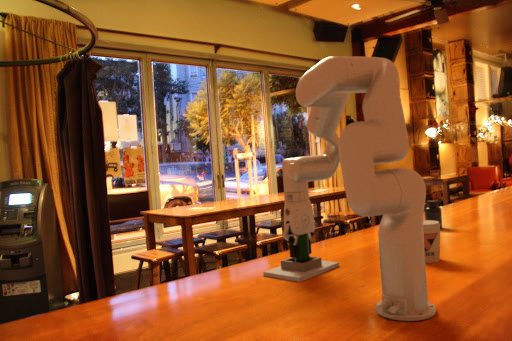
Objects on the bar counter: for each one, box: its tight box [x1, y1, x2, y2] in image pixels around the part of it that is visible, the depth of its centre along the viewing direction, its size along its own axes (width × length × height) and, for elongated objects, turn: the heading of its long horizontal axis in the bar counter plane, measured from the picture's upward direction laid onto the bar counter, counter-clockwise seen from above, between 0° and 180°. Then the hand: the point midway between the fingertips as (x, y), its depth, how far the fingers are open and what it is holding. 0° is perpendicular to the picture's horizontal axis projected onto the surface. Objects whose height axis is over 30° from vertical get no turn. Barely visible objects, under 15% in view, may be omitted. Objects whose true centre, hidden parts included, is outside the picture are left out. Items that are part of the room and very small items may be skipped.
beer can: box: [292, 233, 311, 263], centre depth 141 cm, size 5×5×12 cm
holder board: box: [262, 255, 340, 283], centre depth 141 cm, size 20×14×4 cm
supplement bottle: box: [424, 199, 443, 230], centre depth 196 cm, size 7×7×12 cm
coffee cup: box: [423, 219, 441, 264], centre depth 143 cm, size 9×9×12 cm
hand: (300, 254), depth 141 cm, fingers closed on beer can, 5 cm apart
